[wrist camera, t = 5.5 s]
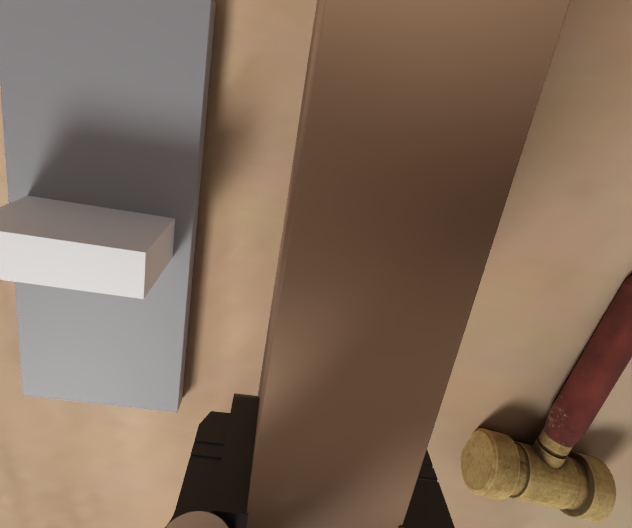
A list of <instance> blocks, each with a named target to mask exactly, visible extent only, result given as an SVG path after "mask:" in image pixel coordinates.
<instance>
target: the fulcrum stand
mask: <svg viewBox="0 0 632 528" xmlns="http://www.w3.org/2000/svg"><path fill="white" fill-rule="evenodd" d="M215 11H216V2H215V1H214V0H0V85H1V99H2V113H3V127H4V141H5V155H6V169H7V183H8V197H9V204H7V205H4V206H2V207H0V280H6V281H14V282H15V295H16V309H17V323H18V337H19V351H20V365H21V379H22V393H23V395H24V396H33V397H41V398H50V399H59V400H68V401H77V402H86V403H95V404H104V405H113V406H122V407H131V408H140V409H149V410H158V411H167V412H176V413H177V412H178V409H179V406H180V404H181V401H182V397H183V385H184V373H185V362H186V350H187V338H188V327H189V315H190V303H191V291H192V280H193V268H194V256H195V245H196V233H197V221H198V210H199V198H200V186H201V175H202V163H203V151H204V140H205V128H206V116H207V104H208V93H209V81H210V69H211V58H212V46H213V34H214V23H215Z"/></svg>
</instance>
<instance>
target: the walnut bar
mask: <svg viewBox="0 0 632 528" xmlns="http://www.w3.org/2000/svg"><path fill="white" fill-rule="evenodd" d="M569 3H570V0H317V5H316V12H315V18H314V25H313V32H312V38H311V45H310V52H309V58H308V65H307V72H306V78H305V85H304V92H303V98H302V105H301V112H300V118H299V125H298V132H297V138H296V145H295V152H294V158H293V165H292V172H291V178H290V185H289V192H288V198H287V205H286V212H285V218H284V225H283V232H282V238H281V245H280V252H279V258H278V265H277V272H276V278H275V285H274V292H273V298H272V305H271V312H270V318H269V325H268V332H267V338H266V345H265V352H264V358H263V365H262V372H261V378H260V385H259V391H258V396H260V399H259V408H258V417H257V426H256V435H255V443H254V452H253V461H252V470H251V479H250V488H249V496H248V505H247V513H248V519H247V526H246V528H398V526H402V525H403V522H404V519H405V515H406V512H407V509H408V506H409V503H410V500H411V497H412V494H413V490H414V487H415V484H416V481H417V478H418V475H419V472H420V469H421V465H422V462H423V459H424V456H425V453H426V450H427V447H428V443H429V440H430V437H431V434H432V431H433V428H434V425H435V422H436V418H437V415H438V412H439V409H440V406H441V403H442V400H443V397H444V393H445V390H446V387H447V384H448V381H449V378H450V375H451V372H452V368H453V365H454V362H455V359H456V356H457V353H458V350H459V347H460V343H461V340H462V337H463V334H464V331H465V328H466V325H467V322H468V318H469V315H470V312H471V309H472V306H473V303H474V300H475V297H476V293H477V290H478V287H479V284H480V281H481V278H482V275H483V272H484V268H485V265H486V262H487V259H488V256H489V253H490V250H491V247H492V243H493V240H494V237H495V234H496V231H497V228H498V225H499V222H500V218H501V215H502V212H503V209H504V206H505V203H506V200H507V197H508V193H509V190H510V187H511V184H512V181H513V178H514V175H515V172H516V168H517V165H518V162H519V159H520V156H521V153H522V150H523V147H524V143H525V140H526V137H527V134H528V131H529V128H530V125H531V122H532V118H533V115H534V112H535V109H536V106H537V103H538V100H539V97H540V93H541V90H542V87H543V84H544V81H545V78H546V75H547V72H548V68H549V65H550V62H551V59H552V56H553V53H554V50H555V47H556V43H557V40H558V37H559V34H560V31H561V28H562V25H563V22H564V18H565V15H566V12H567V9H568V6H569Z"/></svg>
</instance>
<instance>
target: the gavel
mask: <svg viewBox="0 0 632 528" xmlns="http://www.w3.org/2000/svg"><path fill="white" fill-rule="evenodd" d="M631 357H632V275H631V276H630V277H629V278H628V279H626V280H625V281H624V282H623V284H622V285H621V287H620V289H619V290H618V292H617V294H616V296H615V297H614V299H613V301H612V303H611V304H610V306H609V308H608V310H607V311H606V313H605V315H604V317H603V318H602V320H601V322H600V324H599V325H598V327H597V329H596V331H595V332H594V334H593V336H592V338H591V339H590V341H589V343H588V345H587V346H586V348H585V350H584V352H583V353H582V355H581V357H580V359H579V360H578V362H577V364H576V366H575V367H574V369H573V371H572V373H571V374H570V376H569V378H568V380H567V381H566V383H565V385H564V387H563V388H562V390H561V392H560V394H559V395H558V397H557V399H556V401H555V402H554V404H553V406H552V408H551V409H550V411H549V413H548V416H547V419H546V422H545V425H544V428H543V430H542V432H541V433H540V435H539V438H537V440H536V441H535V443H534V445H533V446H532V445H528V444H524V443H521V442H517V441H513V440H512V439H511V438H510V437H509V436H508V435H506V434H503V433H499V432H495V431H491V430H487V429H483V428H479V429H477V430H476V431H474V432H473V434H472V435H471V437H470V439H469V440H468V442H467V444H466V446H465V447H464V449H463V451H462V458H461V468H462V474H463V478H464V481H465V484H466V486H467V488H468V489H469V490H470V491H471V492H472V493H473V494H476V495H480V496H484V497H489V498H493V499H497V500H504V499H506V498H508V497H509V498H513V499H518V500H522V501H526V502H530V503H535V504H539V505H543V506H548V507H552V508H556V509H560V510H561V511H562V512H563V513H564V514H566V515H568V516H571V517H575V518H579V519H584V520H588V521H592V522H599V521H602V520H604V519H605V518H607V517H608V516H609V515H610V513H611V512H612V510H613V508H614V505H615V500H616V487H615V482H614V479H613V476H612V474H611V472H610V470H609V469H608V467H607V466H606V465H605V464H604V463H603V462H602V461H601V460H599V459H598V458H595V457H592V456H588V455H584V454H580V453H576V452H571V449H572V447H573V446H574V445H575V444H576V443H577V442H578V441H579V440H580V439H581V438H582V437H583V436H584V435H585V433H586V431H587V430H588V428H589V426H590V425H591V423H592V421H593V420H594V418H595V416H596V415H597V413H598V412H599V410H600V408H601V407H602V405H603V403H604V402H605V400H606V398H607V397H608V395H609V394H610V392H611V390H612V389H613V387H614V385H615V384H616V382H617V380H618V379H619V377H620V375H621V374H622V372H623V371H624V369H625V367H626V366H627V364H628V362H629V361H630V359H631Z"/></svg>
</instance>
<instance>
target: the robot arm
mask: <svg viewBox="0 0 632 528" xmlns="http://www.w3.org/2000/svg"><path fill="white" fill-rule="evenodd" d="M259 399H260V396H252V395H244V394H234V398H233V403H232V408H231V413H223V412H213V411H211V412H210V413H209V414H208V415H207V416H206V418H205V419H204V420H203V421H202V422H201V423H200V424H199V427H198V430H197V434H196V438H195V442H194V445H193V448H192V452H191V457H190V459H189V463H188V466H187V470H186V474H185V477H184V481H183V484H182V488H181V492H180V495H179V499H178V502H177V506H176V510H175V512H174V515H173V517H172V519H171V520H170V522H169V523H168V524H167V526H166V527H165V528H246V526H247V519H248V513H247V505H248V496H249V488H250V479H251V470H252V461H253V452H254V443H255V435H256V426H257V417H258V408H259ZM398 528H454V525H453V522H452V519H451V516H450V513H449V510H448V508H447V505H446V502H445V499H444V496H443V493H442V491H441V488H440V485H439V482H437V476H436V474H435V471H434V468H432V462H431V459H430V457H429V454H428V451H427V450H426V453H425V456H424V459H423V462H422V465H421V469H420V472H419V475H418V478H417V481H416V484H415V487H414V490H413V494H412V497H411V500H410V503H409V506H408V509H407V512H406V515H405V519H404V522H403V525H402V526H398Z"/></svg>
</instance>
